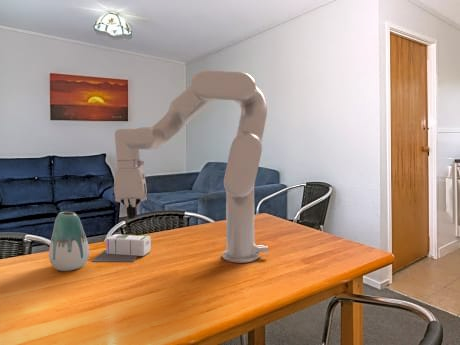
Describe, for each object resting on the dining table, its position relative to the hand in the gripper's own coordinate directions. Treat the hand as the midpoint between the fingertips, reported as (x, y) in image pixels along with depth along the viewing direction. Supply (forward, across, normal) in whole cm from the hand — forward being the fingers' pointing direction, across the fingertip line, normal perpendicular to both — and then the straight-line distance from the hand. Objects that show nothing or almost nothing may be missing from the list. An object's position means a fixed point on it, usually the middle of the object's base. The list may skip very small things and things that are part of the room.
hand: (132, 217), depth 117 cm
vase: (+13, +18, +11) cm, 24 cm away
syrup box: (+10, -5, -1) cm, 11 cm away
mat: (+13, +6, 0) cm, 14 cm away
